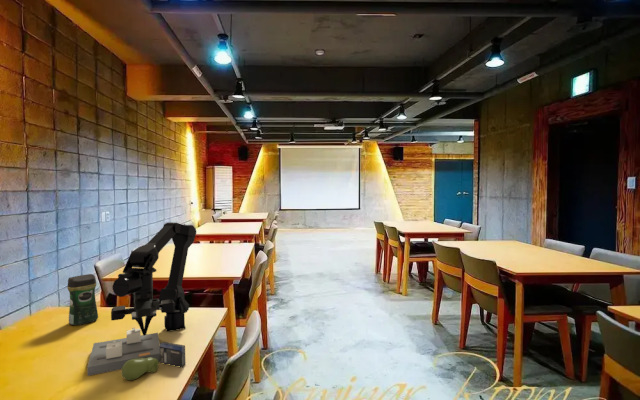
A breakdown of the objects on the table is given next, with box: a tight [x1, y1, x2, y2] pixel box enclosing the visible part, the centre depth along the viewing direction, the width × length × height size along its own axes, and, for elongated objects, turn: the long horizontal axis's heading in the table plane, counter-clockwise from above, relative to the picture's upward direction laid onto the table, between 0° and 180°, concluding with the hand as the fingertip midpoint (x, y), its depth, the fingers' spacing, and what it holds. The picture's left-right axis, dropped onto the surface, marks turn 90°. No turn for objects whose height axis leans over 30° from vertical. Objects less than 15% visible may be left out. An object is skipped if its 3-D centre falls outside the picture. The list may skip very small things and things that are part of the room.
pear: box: [121, 357, 160, 381], centre depth 104 cm, size 6×5×10 cm
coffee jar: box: [66, 273, 99, 326], centre depth 146 cm, size 10×8×19 cm
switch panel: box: [86, 332, 160, 377], centre depth 116 cm, size 19×18×3 cm
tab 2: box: [126, 327, 142, 344], centre depth 121 cm, size 4×4×4 cm
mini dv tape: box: [159, 341, 187, 368], centre depth 110 cm, size 8×2×6 cm, turn 69°
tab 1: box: [106, 341, 122, 359], centre depth 111 cm, size 4×4×4 cm
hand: (144, 335), depth 122 cm, fingers closed
